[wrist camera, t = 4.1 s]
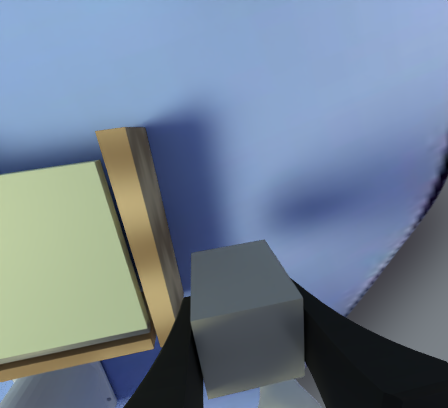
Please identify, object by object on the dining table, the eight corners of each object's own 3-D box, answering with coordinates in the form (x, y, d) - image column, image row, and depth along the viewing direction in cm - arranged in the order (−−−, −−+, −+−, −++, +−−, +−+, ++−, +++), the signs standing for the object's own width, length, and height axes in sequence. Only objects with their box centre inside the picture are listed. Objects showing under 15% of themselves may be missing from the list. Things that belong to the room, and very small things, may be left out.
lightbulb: (300, 335, 26) (371, 472, 16) (267, 371, 27) (314, 520, 17) (259, 315, 24) (310, 455, 14) (226, 354, 25) (250, 509, 15)
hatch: (151, 325, 17) (149, 335, 16) (-39, 365, 16) (-52, 378, 15) (100, 159, 13) (93, 161, 12) (-162, 197, 12) (-189, 202, 11)
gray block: (269, 298, 15) (304, 376, 10) (203, 312, 15) (208, 399, 10) (264, 239, 14) (303, 297, 9) (191, 253, 13) (190, 321, 8)
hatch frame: (183, 292, 22) (181, 343, 17) (-6, 330, 21) (-73, 398, 15) (145, 127, 17) (124, 127, 12) (-110, 161, 16) (-261, 178, 10)
